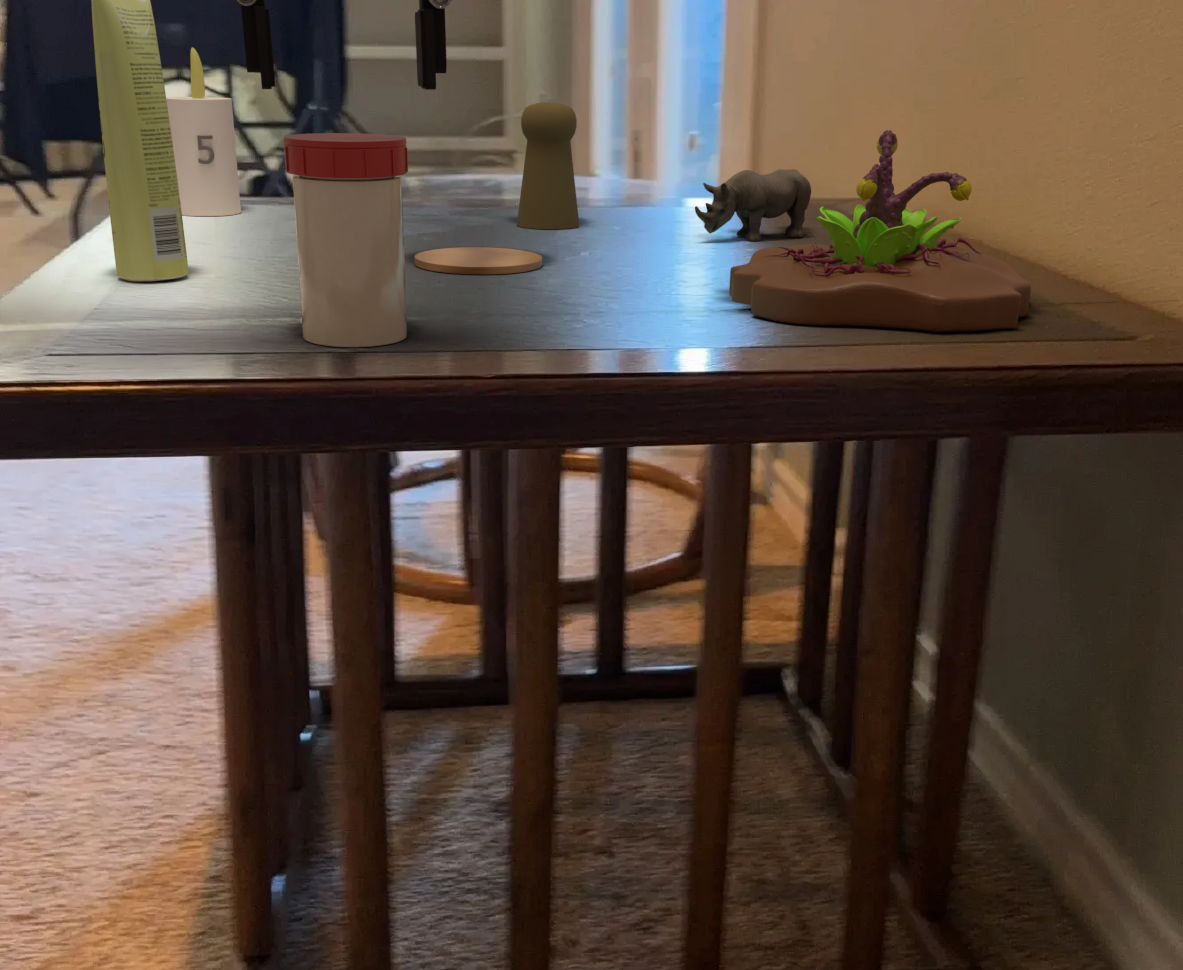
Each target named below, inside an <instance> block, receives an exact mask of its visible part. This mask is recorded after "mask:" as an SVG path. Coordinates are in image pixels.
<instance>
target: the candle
mask: <svg viewBox="0 0 1183 970" xmlns="http://www.w3.org/2000/svg"><path fill="white" fill-rule="evenodd" d="M197 51H198V50H196V48H194V47H193V46H192V47H191V48H190V56H189V57H190V89H191V90H190V91H191V96H166V100H167V107H168V114H169V122H170V129H171V136H172V143H173V150H174V158H175V165H176V172H177V180H178V188H179V196H180V204H181V211H182V216H185V217H186V216H187V217H188V216H189V217H223V216H234V215H239V214H241V213H242V207H241V197H240V184H239V183H240V182H239V172H238V159H237V149H236V148H237V147H236V146H237V145H236V135H235V123H234V112H233V100H232V97H231V98H230V97H216V96H215V97H214V96H206V85H205V74H204V68H203V64H202V61H201V58H200V55H199V53H198V52H197Z"/></svg>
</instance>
